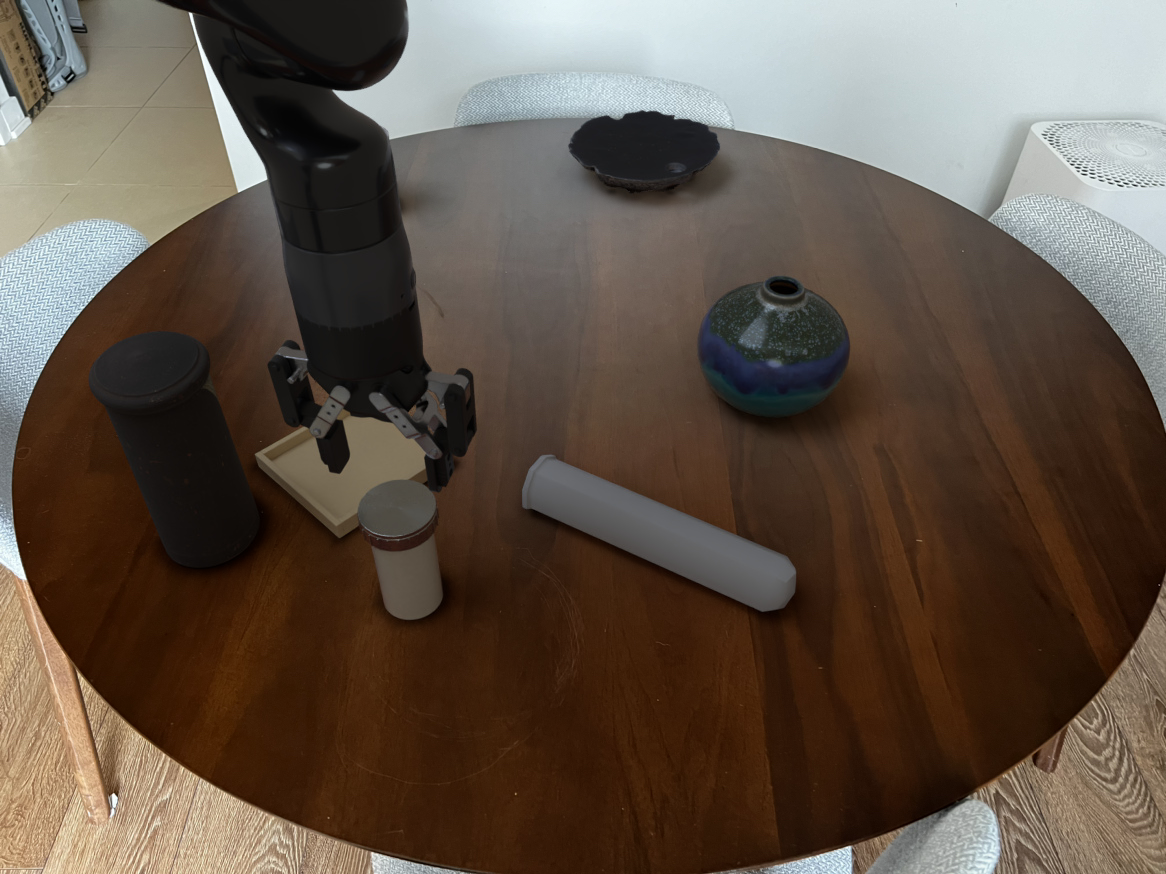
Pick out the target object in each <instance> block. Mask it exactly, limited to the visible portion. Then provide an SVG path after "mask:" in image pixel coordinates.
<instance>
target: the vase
mask: <svg viewBox="0 0 1166 874" xmlns="http://www.w3.org/2000/svg"><path fill="white" fill-rule="evenodd" d="M696 341H697V343H696V354H697V358H698V364H699V368H700V370H701V373H702V374H703V377H704V379H705V381H706V383H707V384H708V385H709V386H710V388H711V389H712V391H713V392H714V394H716V395H717V396H718V397H719V399H721V400H723V401H724V402H725V403H726V404H728V405H729V406H731V407H733V408H735V409H736V410H739V411H741V412H743V413H746V414H750V415H754V416H759V417H762V418H763V417H764V418H785V417H792V416H795V415H799V414H802V413H805V412H808V411H810V410H811V409H813V408H814V407H816V406H818V405H820V404H821V403H823V401H825V400H826V399H827V398H828V397H829V396H830V395H831V394H832V393H834V391H835V390H836V389H837V387H838V385H839V384H840V383H841V381H842V379H843V377H844V375H845V372H846V371H847V367H848V365H849V362H850V355H851V354H850V353H851V339H850V334H849V330H848V328H847V326H846V324H845V321H844V319H843V317H842V316H841V315H840V313H839V311H838V310H837V309H836V308H835V307H834V306H833V305H832V304H831V303H830V301H828V300H827V299H826V298H824V297H823V296H821V295H819V294H818V293H816V292H814V291H813V290H811V289H808V288H807V287H805V286H804V284H803V283H802V282H801V281H800V280H799V279H797V278H795V277H792V276H788V275H772V276H770V277H768V278H766V279H765V280H764V281H756V282H752V283H747V284H744V285H740V286H738V287H735V288H733V289H731V290H730V291H727V292H726V293H725V294H723V295H721V296H720V297H719V298H717V300H716V301H714V303H712V304H711V306H710V307H709V308H708V310H707V312H706V313H705V314H704V317H702V320H701V322H700V325H699V329H698V333H697V338H696Z"/></svg>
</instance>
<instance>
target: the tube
mask: <svg viewBox="0 0 1166 874" xmlns="http://www.w3.org/2000/svg"><path fill="white" fill-rule="evenodd" d="M521 503H522V504H521V506H522V508H523V509H526V510H530V509H532V510H535V511H537V512H539V513H541V514H543V515H545V516H547V517H549V518H552V519H553V520H554V519H555V520H556V521H559V522H561V523H564V524H566V525H568V526H570V527H572V528H574V529H577V530H579V531H581V532H583V533H586V534H587V535H590V536H592V537H595V538H597V539H598V540H599V539H600V540H602V541H604V542H606V543H607V544H610V545H612V546H615V547H616V548H619V549H621V550H623V551H625V552H627V553H630V554H632V555H635V556H637V557H639V558H641V559H643V560H646V561H648V562H650V563H652V564H655V565H657V566H659V567H661V568H663V569H665V570H668V571H670V572H673V573H674V574H677V575H679V576H681V577H684V578H686V579H688V580H691V581H692V582H695V583H698V584H700V585H702V586H703V587H706V588H708V589H709V590H710V589H711V590H713V591H715V592H718V593H720V594H722V595H724V596H727V597H729V598H731V599H733V600H735V601H737V602H739V603H742V604H743V605H746V606H748V607H751V608H754V609H755V610H757V611H760V612H763V613H764V612H769V611H776V610H781V609H784V608H785V607H786V606H787V604H788V603H789V602H790V600H791V599H792V597H793V596H794V595H795V594H796V587H797V586H796V585H797V570H796V567H795V565H794V564H793V563H792V561H791V559H790V558H789V557H788V556H787V555H785V554H782V553H780V552H778V551H776V550H773V549H771V548H768V547H766V546H763V545H761V544H759V543H757V542H754V541H751V540H750V539H747V538H744V537H742V536H740V535H737V534H735V533H732V532H731V531H728V530H726V529H723V528H721V527H719V526H716V525H714V524H711V523H709V522H706V521H704V520H701V519H700V518H697V517H695V516H693V515H690V514H688V513H685V512H682V511H680V510H678V509H676V508H673V507H671V506H669V505H666V504H664V503H661V502H659V501H656V500H654V499H652V498H650V497H647V496H645V495H643V494H640V493H638V492H635V491H633V490H631V489H628V488H626V487H624V486H621V485H619V484H616V483H614V482H611V481H609V480H607V479H604V478H602V477H600V476H597V475H595V474H592V473H590V472H588V471H585V470H583V469H581V468H579V467H576V466H573V465H571V464H568V463H566V462H564V461H562V460H559V459H558V458H557V457H556V455H554V454H542V455H540V456H539V457H538V458H537V460H535V462H534V463H533V464H532V465H531V466H530V468H529V469H528V471H527V473H526V477H525V480H524V483H523V486H522V489H521Z"/></svg>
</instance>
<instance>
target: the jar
mask: <svg viewBox="0 0 1166 874" xmlns="http://www.w3.org/2000/svg"><path fill="white" fill-rule="evenodd" d="M370 548H371V552H372V557H373V561H374V566H375V570H376V575H377V579H378V584H379V588H380V593H381V597H382V601H383V602H382V603H383V606H384V608H385V609H386V611H387V612H388V613H389V614H390V615H391V616H393V617H395V618H397V619H401V620H404V621H405V620H406V621H413V620H414V621H415V620H419V619H423V618H425V617H427V616H429V615H431V614H432V613H433V612H435V611H436V610H437V609H438V607H439V606H440V605H441V602H442V601H443V597H444V589H443V581H442V576H441V569H440V563H439V555H438V549H437V548H438V547H437V541H436V534H435V533H433V534H432V536H431V537H430V538H429V540H427V541H425V542H424V543H423V544H421V545H419V546H417V547H415V548H413V549H411V550H406V551H401V552H389V551H384V550H379V549H377V548H375V547H373V546H371V545H370Z"/></svg>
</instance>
